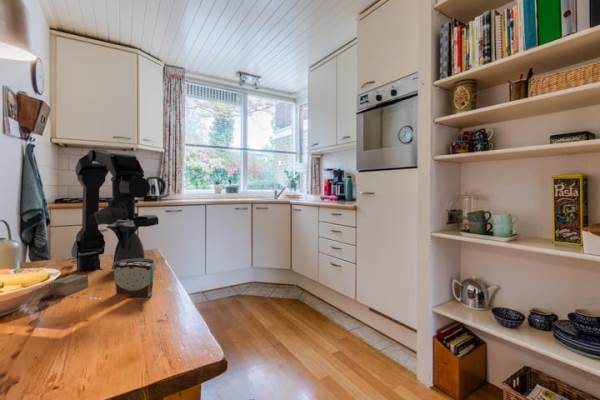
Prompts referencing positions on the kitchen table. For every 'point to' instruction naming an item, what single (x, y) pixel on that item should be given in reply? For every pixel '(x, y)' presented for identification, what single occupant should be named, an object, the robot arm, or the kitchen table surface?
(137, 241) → the dark grey rounded cone
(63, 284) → the grey rectangular block
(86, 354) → the kitchen table surface
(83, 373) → the kitchen table surface
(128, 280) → the food container
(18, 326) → the kitchen table surface
